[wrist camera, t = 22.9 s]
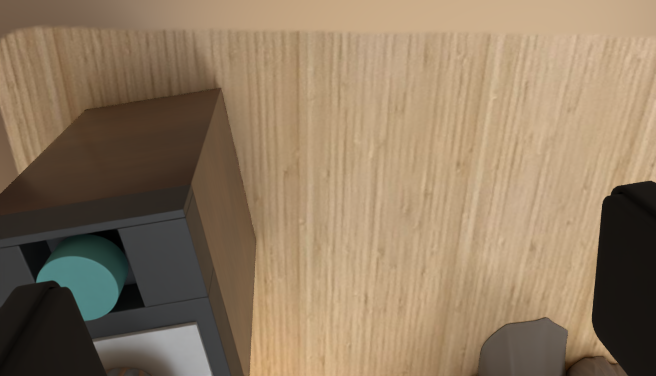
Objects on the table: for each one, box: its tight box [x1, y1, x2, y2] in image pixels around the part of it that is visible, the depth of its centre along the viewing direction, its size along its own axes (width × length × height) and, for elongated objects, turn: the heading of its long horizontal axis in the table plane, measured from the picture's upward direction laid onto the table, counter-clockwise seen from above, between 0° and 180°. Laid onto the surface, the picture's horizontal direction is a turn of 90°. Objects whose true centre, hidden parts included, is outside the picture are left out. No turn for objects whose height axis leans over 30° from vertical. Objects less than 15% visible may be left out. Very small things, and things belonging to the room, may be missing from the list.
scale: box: [0, 185, 243, 376], centre depth 32 cm, size 16×12×3 cm
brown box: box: [0, 88, 256, 376], centre depth 43 cm, size 16×12×20 cm
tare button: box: [36, 234, 128, 321], centre depth 29 cm, size 4×4×2 cm
